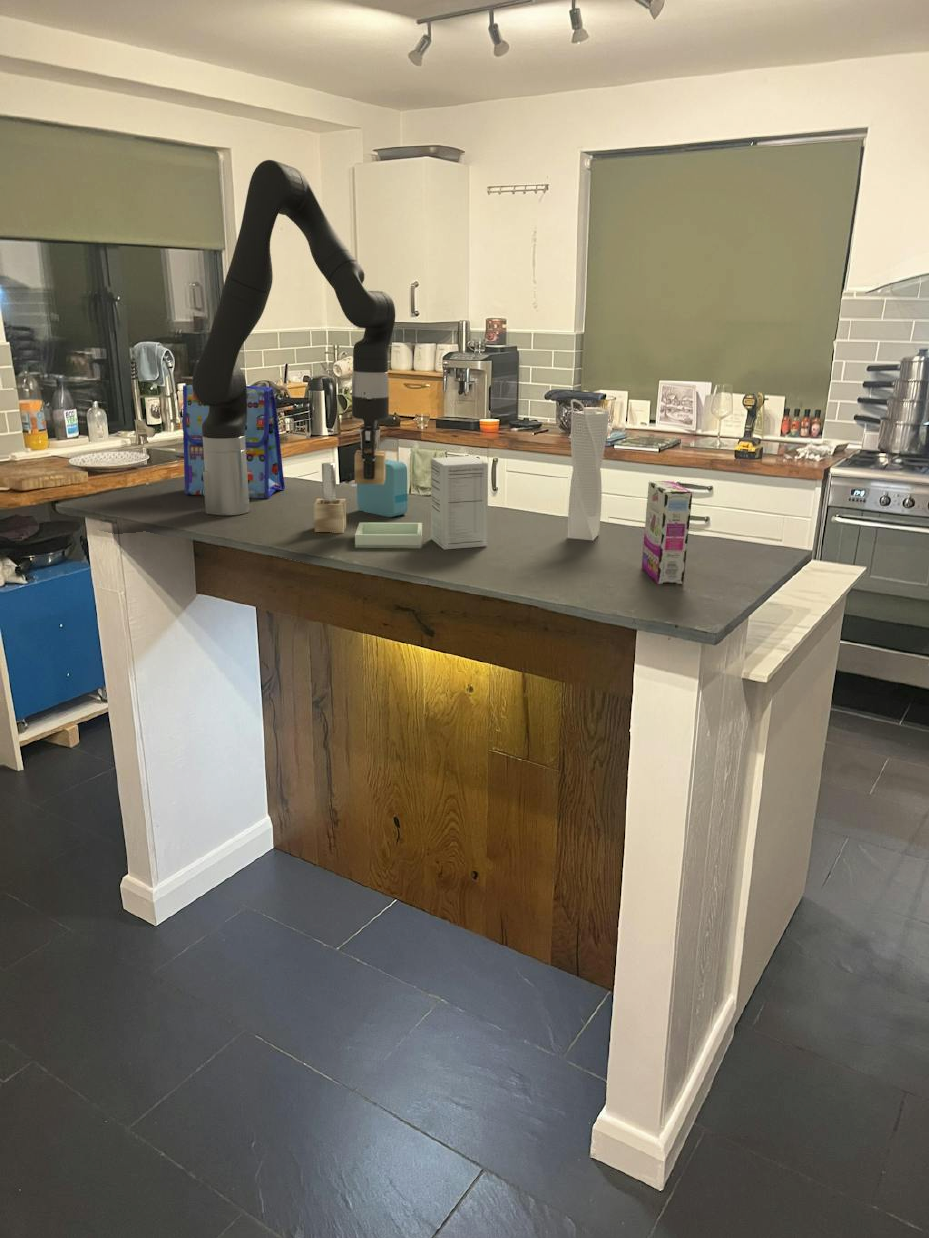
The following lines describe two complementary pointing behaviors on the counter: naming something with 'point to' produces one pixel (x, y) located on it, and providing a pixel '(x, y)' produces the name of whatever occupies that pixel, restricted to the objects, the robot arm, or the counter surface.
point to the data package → (385, 492)
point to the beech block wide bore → (330, 516)
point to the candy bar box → (666, 532)
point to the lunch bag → (258, 441)
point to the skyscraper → (586, 471)
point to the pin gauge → (329, 483)
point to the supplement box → (459, 502)
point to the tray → (388, 535)
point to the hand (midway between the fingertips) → (370, 475)
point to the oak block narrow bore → (379, 468)
